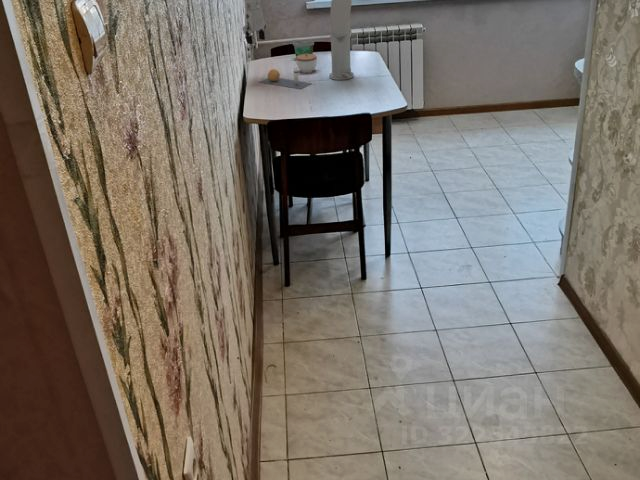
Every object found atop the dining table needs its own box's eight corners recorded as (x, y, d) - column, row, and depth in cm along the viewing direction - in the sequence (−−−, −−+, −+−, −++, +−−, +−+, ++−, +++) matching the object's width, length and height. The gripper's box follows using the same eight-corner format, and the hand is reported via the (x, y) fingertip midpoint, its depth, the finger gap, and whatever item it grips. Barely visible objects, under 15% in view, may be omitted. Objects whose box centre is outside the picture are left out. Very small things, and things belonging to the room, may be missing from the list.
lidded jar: (314, 74, 345) (314, 56, 341) (294, 73, 347) (293, 56, 343) (319, 68, 354) (318, 50, 350) (299, 68, 356) (298, 50, 352)
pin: (299, 84, 331) (298, 68, 326) (295, 85, 330) (294, 68, 326) (297, 83, 332) (296, 67, 328) (293, 84, 331) (292, 67, 327)
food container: (290, 60, 370) (289, 42, 365) (294, 57, 375) (293, 39, 370) (311, 61, 366) (310, 43, 361) (315, 58, 371) (314, 40, 366)
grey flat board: (259, 82, 337) (258, 81, 337) (270, 76, 345) (270, 76, 344) (300, 89, 325) (300, 88, 324) (312, 83, 332) (312, 83, 331)
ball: (282, 81, 337) (281, 69, 334) (271, 83, 334) (270, 71, 331) (276, 78, 342) (275, 67, 338) (266, 80, 339) (265, 69, 336)
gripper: (247, 10, 317) (250, 46, 326) (270, 3, 330) (272, 38, 338) (235, 9, 321) (239, 44, 330) (258, 2, 333) (261, 37, 342)
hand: (256, 41), depth 334 cm, fingers open, 9 cm apart
